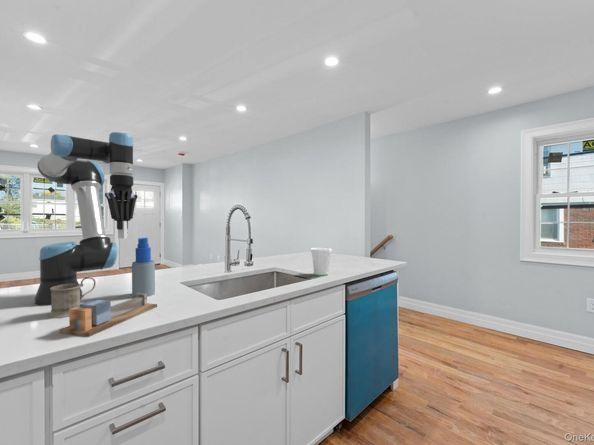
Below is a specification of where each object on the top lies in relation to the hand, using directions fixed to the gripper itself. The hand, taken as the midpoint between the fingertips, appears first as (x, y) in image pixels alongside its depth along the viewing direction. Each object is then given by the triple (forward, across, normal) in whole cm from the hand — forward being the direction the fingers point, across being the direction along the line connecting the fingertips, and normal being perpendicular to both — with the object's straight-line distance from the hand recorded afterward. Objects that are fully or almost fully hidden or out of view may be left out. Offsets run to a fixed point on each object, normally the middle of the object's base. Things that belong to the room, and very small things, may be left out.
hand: (122, 238), depth 110 cm
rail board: (+26, -10, -6) cm, 29 cm away
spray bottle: (+27, +17, +6) cm, 32 cm away
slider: (+25, -17, -6) cm, 31 cm away
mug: (+27, -8, +14) cm, 31 cm away
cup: (+27, +79, -63) cm, 104 cm away
